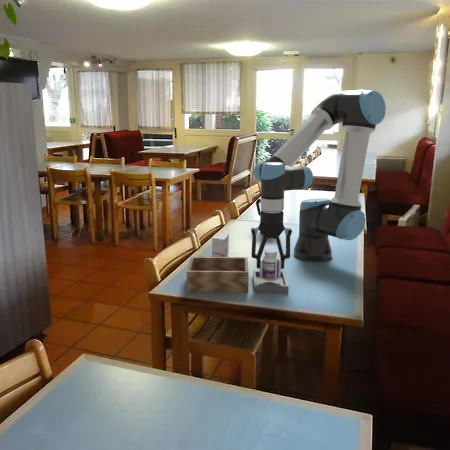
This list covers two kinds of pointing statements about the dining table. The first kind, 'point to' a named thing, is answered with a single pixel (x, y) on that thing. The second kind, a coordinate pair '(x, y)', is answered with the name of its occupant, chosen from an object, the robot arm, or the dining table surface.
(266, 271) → the pill bottle
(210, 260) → the caddy
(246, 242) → the dining table surface
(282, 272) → the tray
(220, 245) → the ink box
